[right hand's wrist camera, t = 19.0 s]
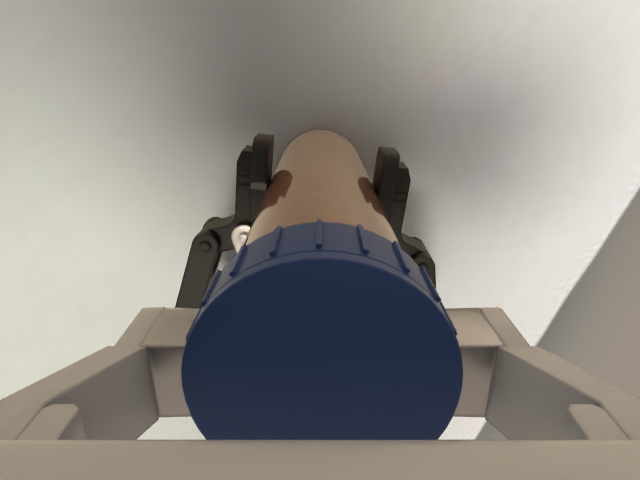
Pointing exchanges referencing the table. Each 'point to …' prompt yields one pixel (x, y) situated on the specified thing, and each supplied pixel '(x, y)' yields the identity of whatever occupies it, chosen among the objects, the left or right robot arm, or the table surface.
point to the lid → (322, 342)
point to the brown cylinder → (320, 188)
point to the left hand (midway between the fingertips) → (326, 145)
